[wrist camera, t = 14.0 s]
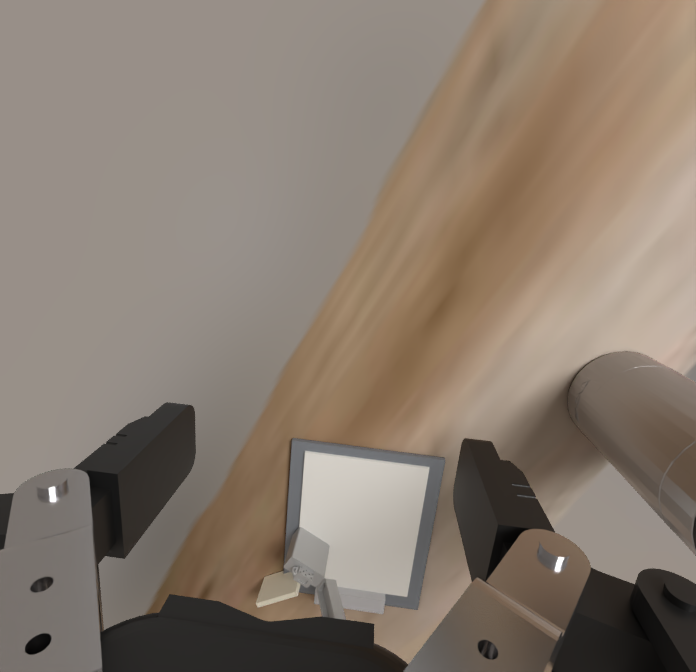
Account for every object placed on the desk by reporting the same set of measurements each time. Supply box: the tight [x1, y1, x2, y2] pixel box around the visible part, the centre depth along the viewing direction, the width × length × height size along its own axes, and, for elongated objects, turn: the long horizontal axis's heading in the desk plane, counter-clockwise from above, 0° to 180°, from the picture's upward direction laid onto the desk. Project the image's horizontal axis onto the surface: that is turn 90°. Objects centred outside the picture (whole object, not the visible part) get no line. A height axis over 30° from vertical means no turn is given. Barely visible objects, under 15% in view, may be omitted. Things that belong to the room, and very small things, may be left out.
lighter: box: [284, 527, 346, 620], centre depth 43 cm, size 7×2×8 cm, turn 55°
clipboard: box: [283, 438, 445, 614], centre depth 46 cm, size 16×20×2 cm
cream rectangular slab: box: [256, 571, 300, 607], centre depth 48 cm, size 5×1×4 cm, turn 115°
